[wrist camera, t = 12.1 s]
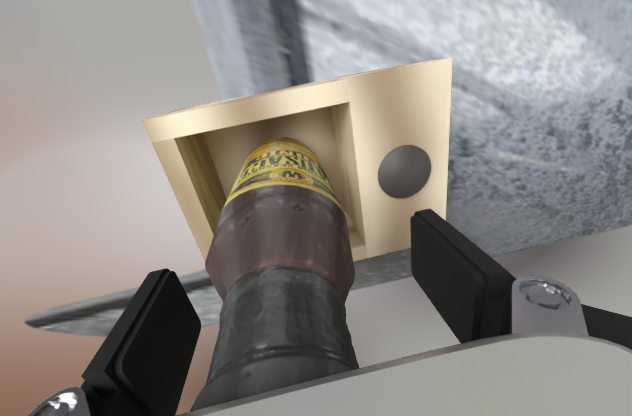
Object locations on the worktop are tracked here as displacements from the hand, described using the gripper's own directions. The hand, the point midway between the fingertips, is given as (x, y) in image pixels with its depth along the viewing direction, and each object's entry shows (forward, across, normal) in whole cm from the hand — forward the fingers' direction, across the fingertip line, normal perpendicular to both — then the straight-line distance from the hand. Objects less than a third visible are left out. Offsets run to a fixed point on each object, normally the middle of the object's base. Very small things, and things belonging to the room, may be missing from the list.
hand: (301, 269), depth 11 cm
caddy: (+14, -2, 0) cm, 15 cm away
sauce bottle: (+14, +1, 0) cm, 14 cm away
